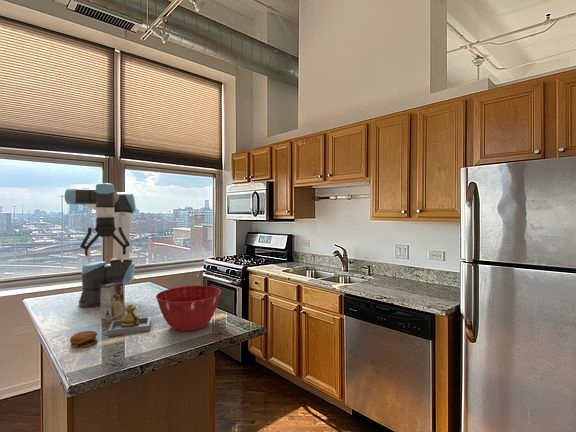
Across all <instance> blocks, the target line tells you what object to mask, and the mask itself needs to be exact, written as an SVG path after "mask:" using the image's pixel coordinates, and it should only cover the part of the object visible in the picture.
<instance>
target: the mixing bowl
mask: <svg viewBox="0 0 576 432" xmlns="http://www.w3.org/2000/svg"><path fill="white" fill-rule="evenodd" d="M221 293H222V290H221V289H220V288H218V287H215V286H210V285H186V286H185V285H183V286H178V287H177V286H176V287H173V288H168V289H164V290H162V291H160V292H158V293H157V294H156V295H155V298H156V300H157V304H158V308H159V309H160V312H161V314H162V317H163V318H164V320H165V322H166V323H167V325H169V326H170V328H172V329H174V330H176V331H180V332H192V331H197V330H200V329H202V328H203V327H205V326H206V325H208V323H210V321H211V320H212V318H213V316H214V314H215V313H216V309H217V306H218V304H219V300H220V297H221Z"/></svg>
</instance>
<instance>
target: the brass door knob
mask: <svg viewBox="0 0 576 432" xmlns="http://www.w3.org/2000/svg"><path fill="white" fill-rule="evenodd" d="M136 309H137V306H136V305H133V304H128V305H127V306H124V311H125V312H126V313H125V315H124V316H122V317H121V319H120V320H121V322H122V323H121V328H125V327H134V326H139V321H138V320H139V318H140V316H139V315H138V314H136V313H135V312H134V311H135V310H136Z"/></svg>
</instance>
